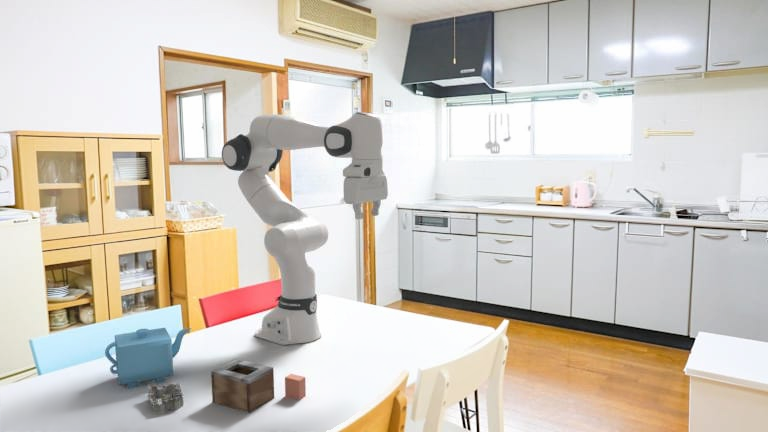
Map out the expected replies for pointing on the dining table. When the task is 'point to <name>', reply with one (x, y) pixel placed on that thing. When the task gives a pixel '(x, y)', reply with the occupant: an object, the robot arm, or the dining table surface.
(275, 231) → the robot arm
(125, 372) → the teapot
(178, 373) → the dining table surface
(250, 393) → the box
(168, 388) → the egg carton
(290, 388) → the block
